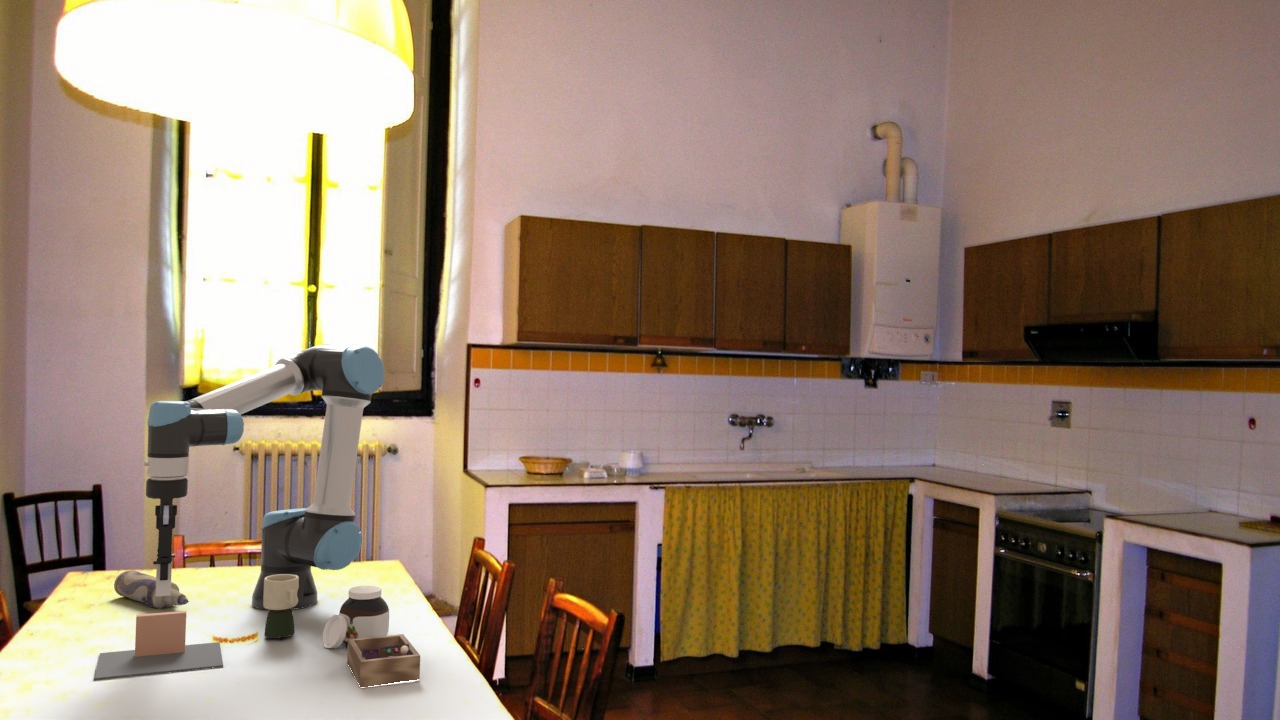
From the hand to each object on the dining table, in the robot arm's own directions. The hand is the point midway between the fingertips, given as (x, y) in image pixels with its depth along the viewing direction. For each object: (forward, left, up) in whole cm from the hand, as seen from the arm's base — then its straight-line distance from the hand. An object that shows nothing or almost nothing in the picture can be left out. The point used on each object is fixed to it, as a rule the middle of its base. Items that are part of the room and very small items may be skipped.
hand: (163, 592), depth 190 cm
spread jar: (-37, +6, -13) cm, 40 cm away
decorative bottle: (+3, -43, -13) cm, 45 cm away
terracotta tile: (0, 0, -12) cm, 12 cm away
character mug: (-23, -5, -13) cm, 27 cm away
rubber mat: (0, +4, -13) cm, 13 cm away
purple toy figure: (-39, +30, -13) cm, 50 cm away
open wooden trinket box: (-39, +26, -13) cm, 49 cm away
